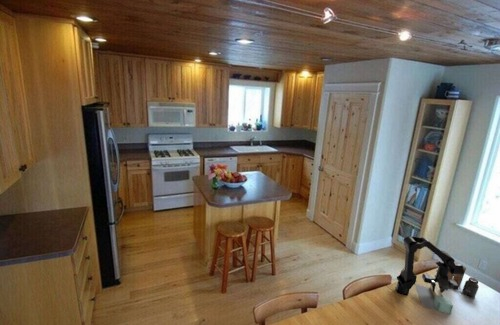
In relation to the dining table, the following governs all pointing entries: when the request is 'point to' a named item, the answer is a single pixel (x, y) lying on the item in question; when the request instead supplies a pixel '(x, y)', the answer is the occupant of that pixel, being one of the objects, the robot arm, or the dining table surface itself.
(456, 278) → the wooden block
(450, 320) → the dining table surface
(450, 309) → the end cap
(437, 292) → the slat
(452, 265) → the robot arm
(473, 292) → the supplement bottle
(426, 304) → the mat
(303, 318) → the dining table surface
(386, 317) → the dining table surface
